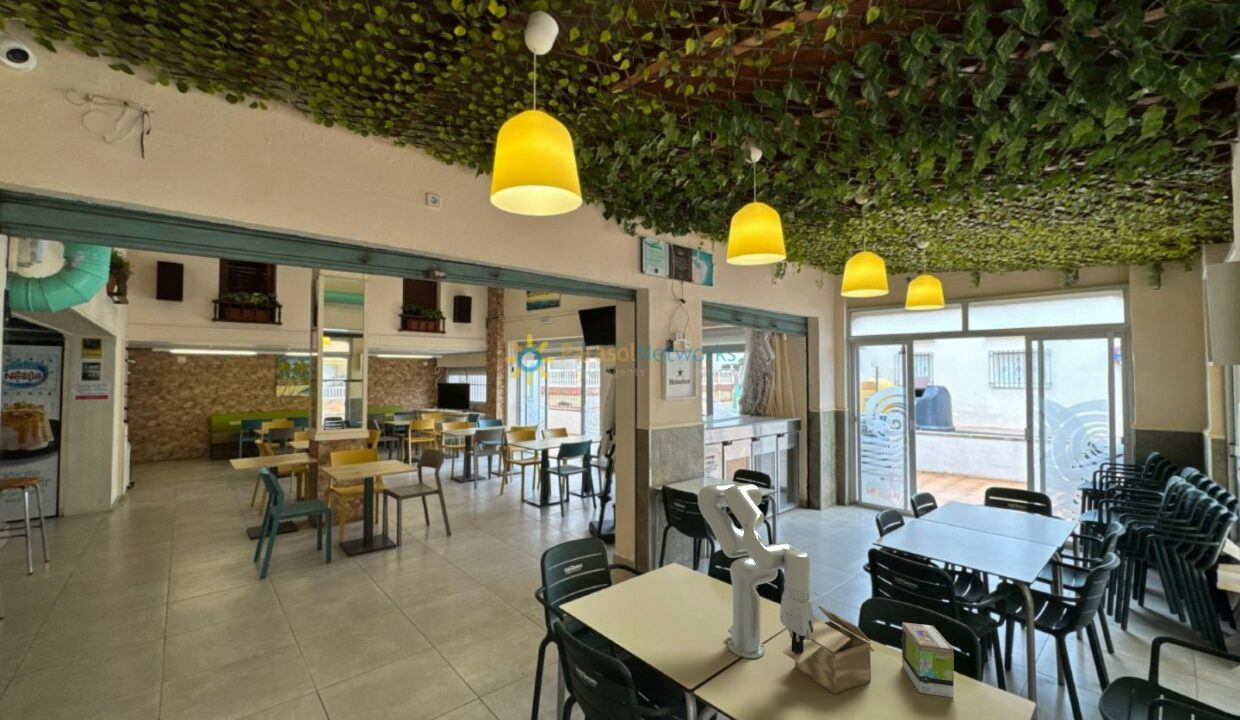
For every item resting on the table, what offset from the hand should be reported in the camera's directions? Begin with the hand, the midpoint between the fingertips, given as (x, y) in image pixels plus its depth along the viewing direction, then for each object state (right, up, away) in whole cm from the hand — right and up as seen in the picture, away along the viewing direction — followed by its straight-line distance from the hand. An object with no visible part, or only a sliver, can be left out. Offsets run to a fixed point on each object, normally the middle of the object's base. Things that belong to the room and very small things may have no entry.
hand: (797, 651), depth 153 cm
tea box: (+43, -12, +3) cm, 44 cm away
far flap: (+21, +1, +10) cm, 24 cm away
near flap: (+6, +1, +3) cm, 7 cm away
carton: (+14, -11, +6) cm, 19 cm away
